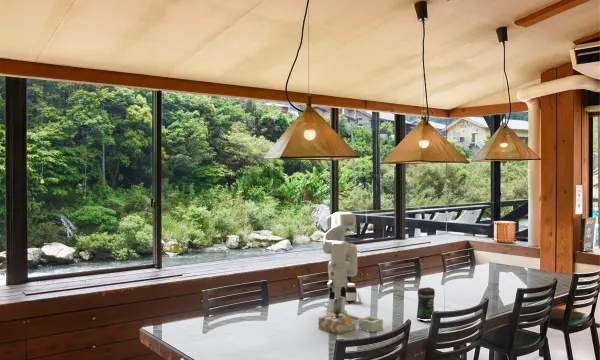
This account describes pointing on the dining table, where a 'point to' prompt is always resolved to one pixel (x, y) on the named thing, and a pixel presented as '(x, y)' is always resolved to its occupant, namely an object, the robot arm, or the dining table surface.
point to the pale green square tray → (371, 324)
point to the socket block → (334, 323)
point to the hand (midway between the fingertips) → (337, 297)
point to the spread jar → (351, 293)
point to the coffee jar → (425, 303)
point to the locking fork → (352, 320)
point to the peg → (337, 307)
